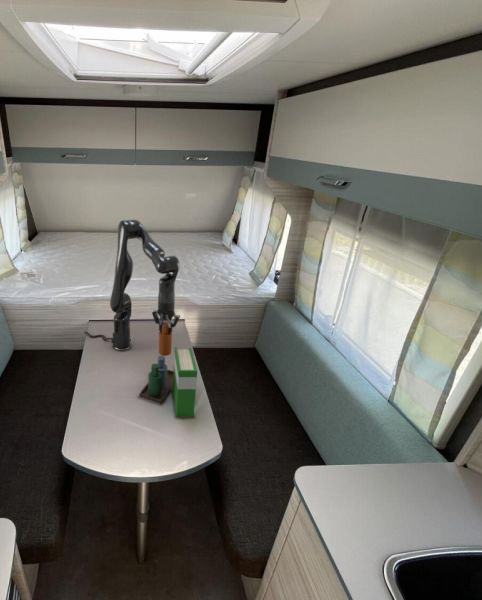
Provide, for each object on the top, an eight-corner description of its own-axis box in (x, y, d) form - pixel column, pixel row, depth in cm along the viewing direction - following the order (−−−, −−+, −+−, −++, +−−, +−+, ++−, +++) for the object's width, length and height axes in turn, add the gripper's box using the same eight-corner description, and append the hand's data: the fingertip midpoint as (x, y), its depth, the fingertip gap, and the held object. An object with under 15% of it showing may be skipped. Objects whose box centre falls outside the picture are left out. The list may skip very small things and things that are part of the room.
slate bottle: (152, 387, 157) (152, 359, 151) (157, 380, 162) (158, 353, 156) (163, 391, 155) (164, 362, 148) (168, 383, 160) (169, 356, 153)
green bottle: (145, 395, 152) (146, 367, 145) (151, 388, 156) (151, 360, 150) (157, 399, 149) (158, 371, 143) (162, 392, 154) (163, 364, 148)
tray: (139, 397, 152) (139, 393, 151) (159, 370, 171) (160, 367, 170) (161, 404, 147) (161, 401, 146) (179, 376, 166) (180, 373, 165)
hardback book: (172, 390, 156) (174, 347, 146) (188, 390, 156) (191, 347, 147) (176, 417, 140) (178, 371, 130) (193, 417, 140) (197, 371, 130)
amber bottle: (156, 353, 158) (157, 324, 152) (161, 348, 163) (162, 319, 157) (168, 357, 156) (169, 327, 149) (172, 351, 160) (174, 322, 154)
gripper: (183, 299, 148) (182, 332, 155) (155, 293, 154) (155, 326, 161) (177, 305, 142) (176, 339, 149) (148, 299, 148) (148, 332, 155)
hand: (165, 332), depth 155 cm, fingers closed on amber bottle, 3 cm apart
